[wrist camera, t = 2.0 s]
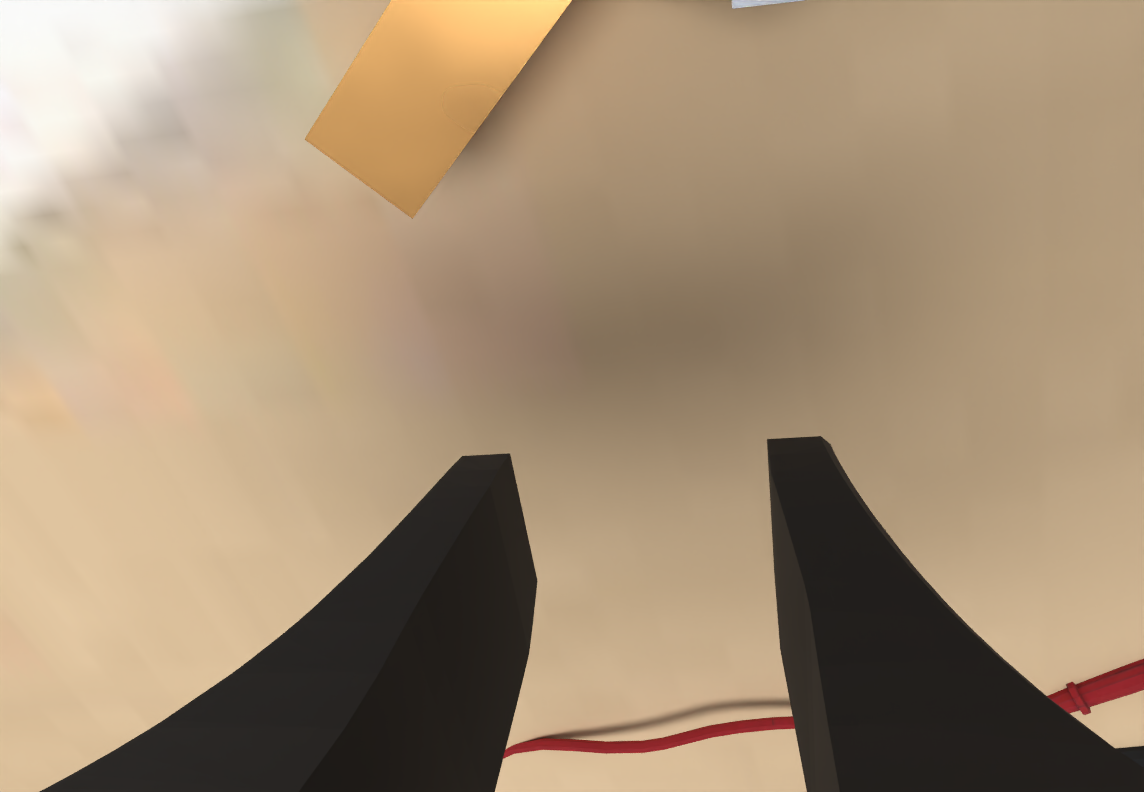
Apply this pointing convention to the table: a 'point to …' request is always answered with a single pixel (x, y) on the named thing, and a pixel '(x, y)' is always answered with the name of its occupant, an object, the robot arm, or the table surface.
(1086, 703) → the digital clamp meter
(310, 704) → the robot arm
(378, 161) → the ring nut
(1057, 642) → the table surface
